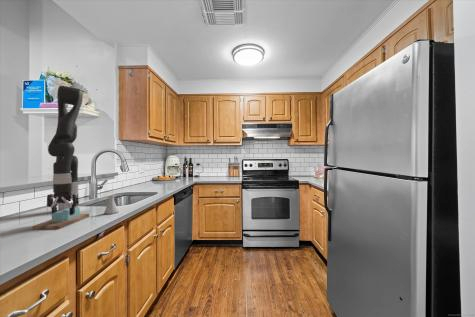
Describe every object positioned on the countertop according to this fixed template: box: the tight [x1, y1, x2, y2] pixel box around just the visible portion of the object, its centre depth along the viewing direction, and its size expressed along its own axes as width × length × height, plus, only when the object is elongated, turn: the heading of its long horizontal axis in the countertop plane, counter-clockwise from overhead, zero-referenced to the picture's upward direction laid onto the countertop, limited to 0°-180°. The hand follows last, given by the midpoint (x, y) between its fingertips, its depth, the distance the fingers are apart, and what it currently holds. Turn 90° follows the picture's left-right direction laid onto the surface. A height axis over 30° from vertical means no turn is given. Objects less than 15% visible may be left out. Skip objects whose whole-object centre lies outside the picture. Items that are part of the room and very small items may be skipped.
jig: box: [32, 213, 90, 230], centre depth 121 cm, size 12×22×5 cm, turn 0°
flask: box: [103, 194, 119, 215], centre depth 140 cm, size 7×7×10 cm
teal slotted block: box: [51, 207, 81, 222], centre depth 123 cm, size 5×13×4 cm, turn 0°
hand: (63, 215), depth 121 cm, fingers open, 8 cm apart
